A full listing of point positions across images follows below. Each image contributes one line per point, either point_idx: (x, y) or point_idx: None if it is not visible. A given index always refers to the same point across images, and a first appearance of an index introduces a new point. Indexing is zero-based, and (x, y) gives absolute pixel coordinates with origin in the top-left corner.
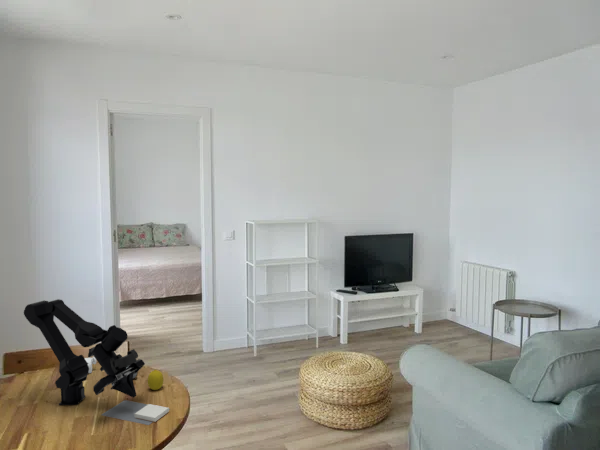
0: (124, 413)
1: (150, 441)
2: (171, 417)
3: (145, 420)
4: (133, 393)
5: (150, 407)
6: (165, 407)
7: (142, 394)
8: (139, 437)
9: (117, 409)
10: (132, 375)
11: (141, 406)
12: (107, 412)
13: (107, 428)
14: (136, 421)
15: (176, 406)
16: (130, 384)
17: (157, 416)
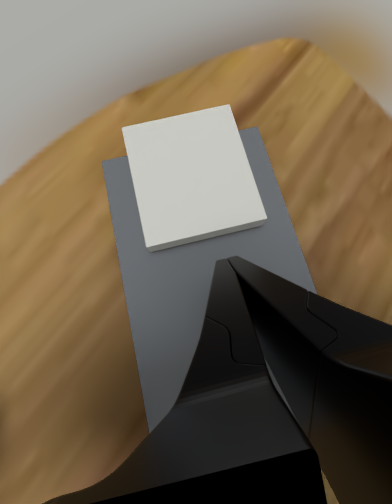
0: None
1: (309, 59)
2: None
3: None
4: (245, 263)
5: (170, 204)
6: (128, 143)
7: (26, 475)
8: (321, 107)
9: None
10: (173, 434)
11: (160, 305)
12: None
13: (381, 276)
14: (273, 193)
15: (57, 181)
16: (254, 331)
17: (211, 109)
